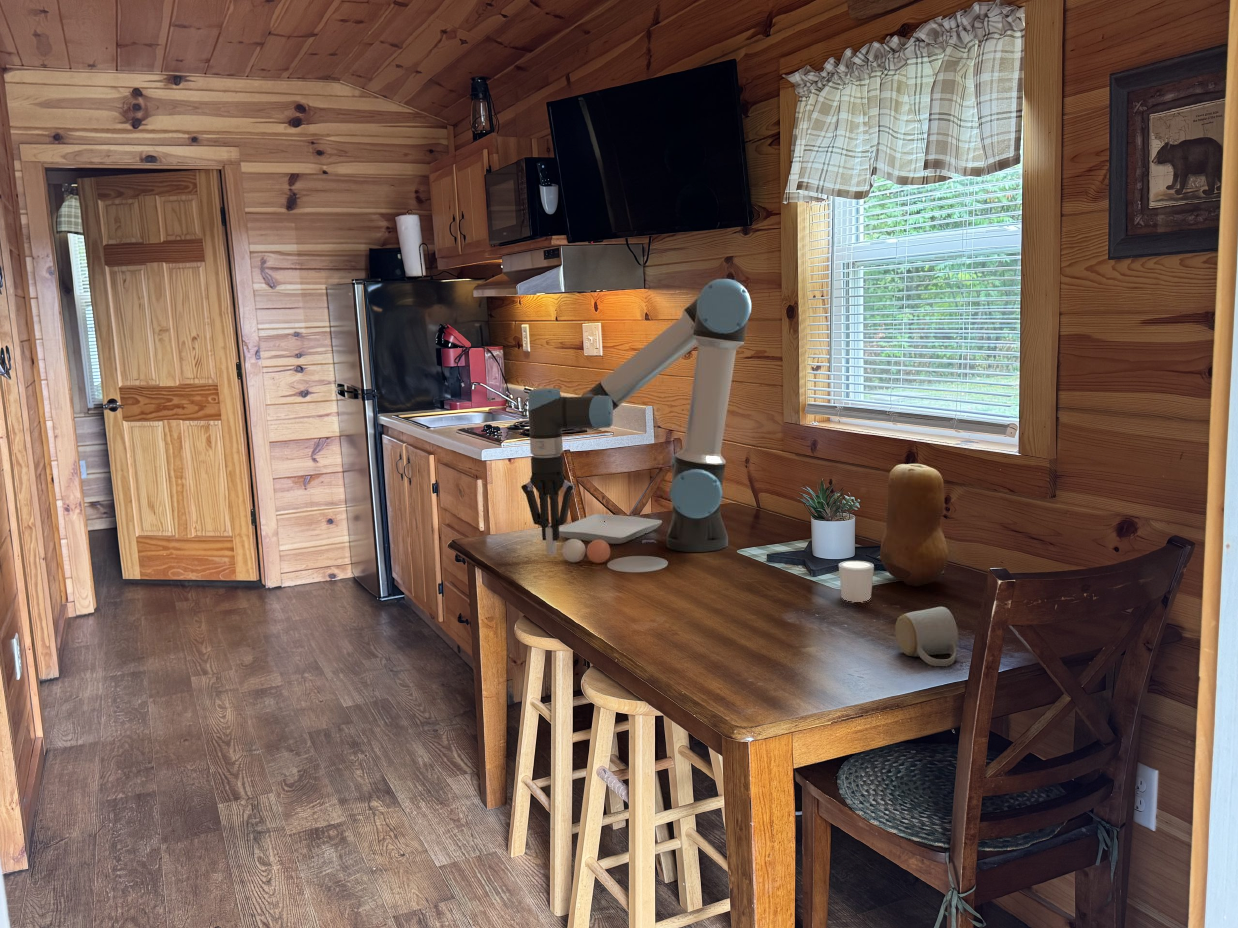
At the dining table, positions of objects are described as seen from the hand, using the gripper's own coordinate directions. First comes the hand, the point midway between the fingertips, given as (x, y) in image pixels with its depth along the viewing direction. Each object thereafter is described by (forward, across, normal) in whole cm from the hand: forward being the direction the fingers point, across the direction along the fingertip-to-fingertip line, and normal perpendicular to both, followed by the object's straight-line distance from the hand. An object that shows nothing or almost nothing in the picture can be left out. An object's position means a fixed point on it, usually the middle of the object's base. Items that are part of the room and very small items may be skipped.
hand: (551, 553), depth 236 cm
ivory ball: (-1, +6, 0) cm, 6 cm away
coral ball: (-1, +12, 0) cm, 12 cm away
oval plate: (+2, +21, 0) cm, 21 cm away
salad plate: (+3, +6, +28) cm, 29 cm away
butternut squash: (+2, +82, -6) cm, 82 cm away
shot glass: (+2, +71, -19) cm, 74 cm away
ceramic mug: (+2, +84, -50) cm, 98 cm away
